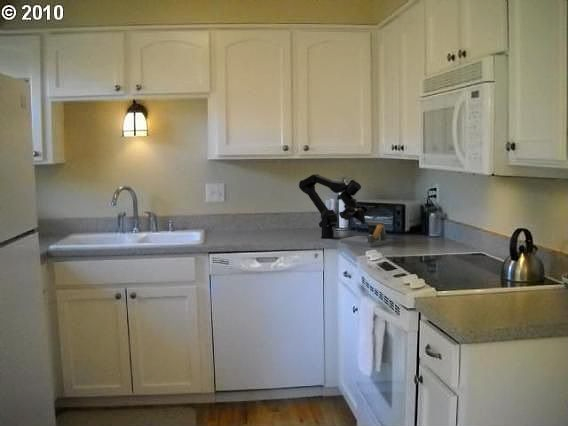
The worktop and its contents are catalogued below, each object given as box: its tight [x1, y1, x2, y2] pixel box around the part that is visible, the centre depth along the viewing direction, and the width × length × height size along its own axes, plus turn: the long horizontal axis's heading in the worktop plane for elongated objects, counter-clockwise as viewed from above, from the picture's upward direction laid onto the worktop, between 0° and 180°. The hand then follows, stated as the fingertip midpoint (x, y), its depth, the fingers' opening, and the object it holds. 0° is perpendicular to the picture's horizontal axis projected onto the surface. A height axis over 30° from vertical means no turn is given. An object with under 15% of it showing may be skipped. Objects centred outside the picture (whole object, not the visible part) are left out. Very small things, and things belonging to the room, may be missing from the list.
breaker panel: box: [340, 232, 389, 248], centre depth 301 cm, size 20×15×6 cm
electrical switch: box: [367, 220, 386, 235], centre depth 318 cm, size 9×5×9 cm, turn 57°
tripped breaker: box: [373, 224, 383, 240], centre depth 294 cm, size 2×4×9 cm, turn 135°
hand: (364, 223), depth 300 cm, fingers closed
